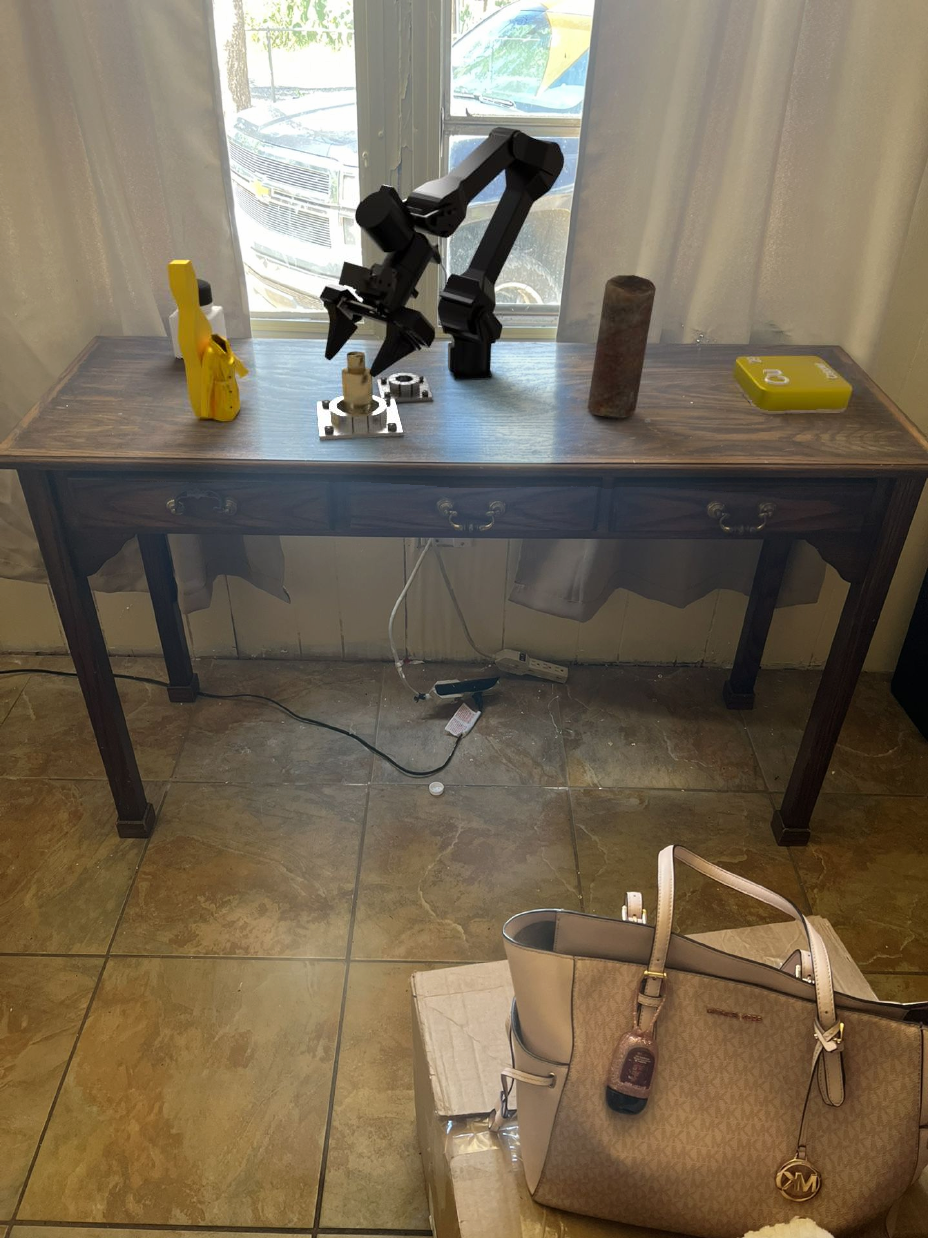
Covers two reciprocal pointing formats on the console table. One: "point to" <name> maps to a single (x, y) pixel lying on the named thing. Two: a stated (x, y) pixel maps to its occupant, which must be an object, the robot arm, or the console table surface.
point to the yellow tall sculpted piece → (204, 351)
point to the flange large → (358, 420)
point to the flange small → (404, 388)
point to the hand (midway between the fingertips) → (348, 366)
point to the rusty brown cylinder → (621, 346)
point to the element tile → (791, 383)
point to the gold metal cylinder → (357, 385)
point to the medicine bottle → (210, 312)
